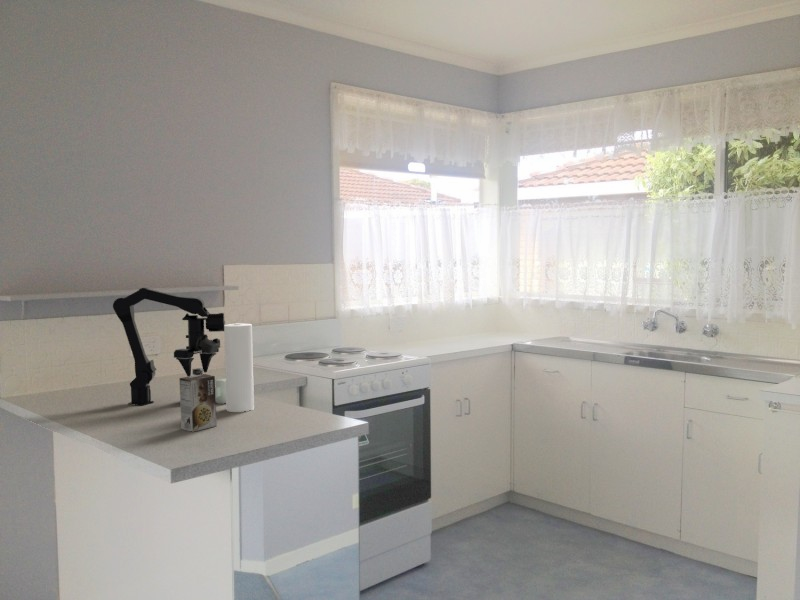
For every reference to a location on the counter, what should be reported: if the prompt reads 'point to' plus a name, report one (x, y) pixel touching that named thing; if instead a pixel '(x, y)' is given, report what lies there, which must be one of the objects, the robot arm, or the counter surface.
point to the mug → (220, 391)
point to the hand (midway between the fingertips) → (197, 374)
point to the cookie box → (198, 402)
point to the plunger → (197, 371)
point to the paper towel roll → (239, 367)
